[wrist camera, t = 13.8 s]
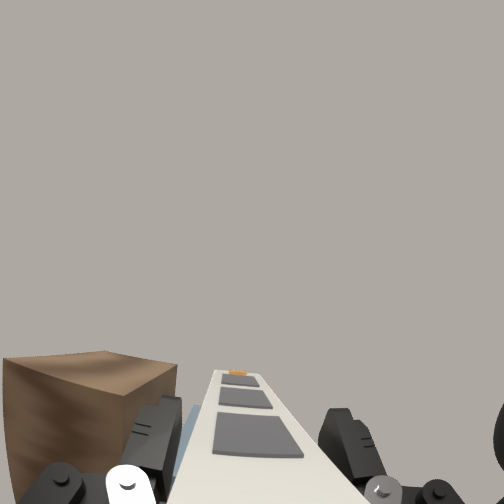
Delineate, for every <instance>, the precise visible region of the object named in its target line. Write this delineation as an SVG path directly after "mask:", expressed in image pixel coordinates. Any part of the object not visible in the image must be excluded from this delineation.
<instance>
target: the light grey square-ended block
mask: <svg viewBox="0 0 504 504" xmlns="http://www.w3.org/2000/svg"><path fill="white" fill-rule="evenodd" d="M167 504H370V503H369V502H368V501H367V500H366V498H365V497H364V496H363V495H362V494H361V493H360V492H359V491H358V490H357V489H356V488H355V487H354V486H353V485H352V484H351V482H350V481H349V480H348V479H347V478H346V477H345V476H344V475H343V474H342V473H341V471H340V470H339V469H338V468H337V467H336V466H335V465H334V464H333V463H332V461H331V460H330V459H329V458H328V457H327V456H326V455H325V453H324V452H323V451H322V450H321V449H320V448H319V447H318V445H317V444H316V443H315V442H314V441H313V440H312V438H311V437H310V436H309V435H308V434H307V433H306V431H305V430H304V429H303V428H302V427H301V425H300V424H299V423H298V422H297V421H296V419H295V418H294V417H293V416H292V415H291V413H290V412H289V411H288V410H287V408H286V407H285V406H284V405H283V403H282V402H281V401H280V400H279V399H278V397H277V396H276V395H275V393H274V392H273V391H272V390H271V389H270V387H269V386H268V385H267V383H266V382H265V381H264V380H263V378H262V377H261V376H260V374H255V373H246V371H240V370H229V371H224V370H214V373H213V376H212V379H211V382H210V384H209V387H208V390H207V393H206V396H205V398H204V401H203V404H202V407H201V410H200V412H199V415H198V418H197V421H196V423H195V426H194V429H193V432H192V435H191V437H190V440H189V443H188V446H187V448H186V451H185V454H184V457H183V459H182V462H181V465H180V468H179V470H178V473H177V476H176V479H175V482H174V484H173V487H172V490H171V493H170V495H169V498H168V501H167Z"/></svg>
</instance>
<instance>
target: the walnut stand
mask: <svg viewBox="0 0 504 504" xmlns="http://www.w3.org/2000/svg"><path fill="white" fill-rule="evenodd" d="M176 374H177V364H172V363H165V362H159V361H154V360H147V359H142V358H137V357H132V356H127V355H121V354H117V353H112V352H108V351H98V352H88V353H77V354H65V355H52V356H37V357H19V358H3V417H4V431H5V442H6V450H7V458H8V465H9V471H10V477H11V483H12V488H13V493H14V497H15V501H16V504H17V503H18V501H19V500H20V499H21V498H22V496H23V495H24V494H25V493H26V491H27V490H28V489H29V488H30V487H31V485H32V484H33V483H34V482H35V480H36V479H37V478H38V477H39V476H40V474H41V473H42V472H43V471H44V469H45V468H46V467H47V466H49V465H50V464H52V463H56V462H64V463H68V464H71V465H73V466H74V467H75V468H76V469H77V470H78V471H79V472H80V473H94V474H100V473H106V472H109V471H110V470H111V469H112V468H114V467H116V466H117V465H118V464H119V462H120V460H121V458H122V455H123V452H124V449H125V447H126V444H127V441H128V439H129V436H130V433H131V432H132V428H133V426H134V424H135V420H136V418H137V415H138V413H139V412H140V411H141V410H142V409H143V408H144V407H145V406H146V405H151V406H156V407H158V404H159V401H160V398H161V396H162V395H168V396H174V397H175V386H176Z"/></svg>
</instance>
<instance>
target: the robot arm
mask: <svg viewBox="0 0 504 504" xmlns="http://www.w3.org/2000/svg"><path fill="white" fill-rule="evenodd" d="M181 431H182V400H181V397H174V396H168V395H162V396H161V398H160V401H159V404H158V407H156V406H151V405H146V406H145V407H144V408H143V409H142V410H141V411H140V412H139V413H138V415H137V418H136V420H135V424H134V426H133V428H132V432H131V433H130V436H129V439H128V441H127V444H126V447H125V449H124V452H123V455H122V458H121V460H120V462H119V464H118V465H117V466H116V467H114V468H112V469H111V470H110V471H109V472H106V473H100V474H94V473H80V472H79V471H78V470H77V469H76V468H75V467H74V466H73V465H71V464H68V463H64V462H56V463H52V464H50V465H49V466H47V467H46V468H45V469H44V471H43V472H42V473H41V474H40V476H39V477H38V478H37V479H36V480H35V482H34V483H33V484H32V485H31V487H30V488H29V489H28V490H27V491H26V493H25V494H24V495H23V496H22V498H21V499H20V500H19V501H18V503H17V504H159V503H160V502H165V503H167V501H168V496H169V491H170V486H171V481H172V476H173V471H174V467H175V462H176V457H177V452H178V447H179V443H180V438H181ZM493 443H494V451H495V455H496V458H497V461H498V463H499V464H500V466H501V468H502V469H503V470H504V404H503V406H502V408H501V410H500V412H499V415H498V418H497V421H496V424H495V429H494V437H493ZM318 447H319V448H320V449H321V450H322V451H323V452H324V453H325V455H326V456H327V457H328V458H329V459H330V460H331V461H332V463H333V464H334V465H335V466H336V467H337V468H338V469H339V470H340V471H341V473H342V474H343V475H344V476H345V477H346V478H347V479H348V480H349V481H350V482H351V484H352V485H353V486H354V487H355V488H356V489H357V490H358V491H359V492H360V493H361V494H362V495H363V496H364V497H365V498H366V500H367V501H368V502H369V503H370V504H465V503H464V502H463V501H462V500H461V498H460V497H459V496H458V494H457V493H456V492H455V490H454V489H453V488H452V486H451V485H450V484H449V483H447V482H446V481H443V480H439V479H435V480H431V481H429V482H427V483H426V484H425V485H424V486H423V487H406V486H401V485H400V483H399V482H398V481H397V480H396V479H394V478H392V477H390V476H387V474H386V471H385V469H384V466H383V464H382V461H381V459H380V456H379V454H378V451H377V449H376V447H375V444H374V442H373V439H372V437H371V434H370V432H369V430H368V428H367V427H366V426H365V425H364V424H363V423H362V422H361V421H360V420H353V417H352V415H351V412H350V410H349V409H348V408H333V409H332V408H330V409H329V410H328V412H327V415H326V417H325V420H324V423H323V425H322V428H321V430H320V433H319V437H318ZM497 504H504V497H503V498H502V499H501V500H500V501H499V502H498V503H497Z"/></svg>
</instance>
